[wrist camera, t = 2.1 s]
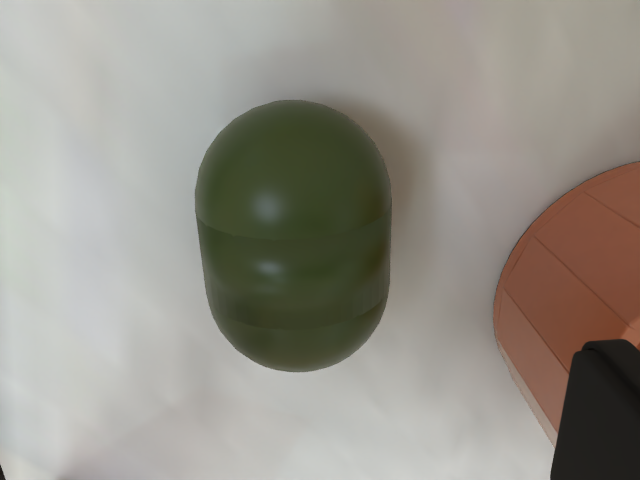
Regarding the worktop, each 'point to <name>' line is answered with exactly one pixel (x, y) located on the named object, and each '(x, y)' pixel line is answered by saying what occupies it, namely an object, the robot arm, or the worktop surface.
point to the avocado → (295, 234)
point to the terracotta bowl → (570, 287)
